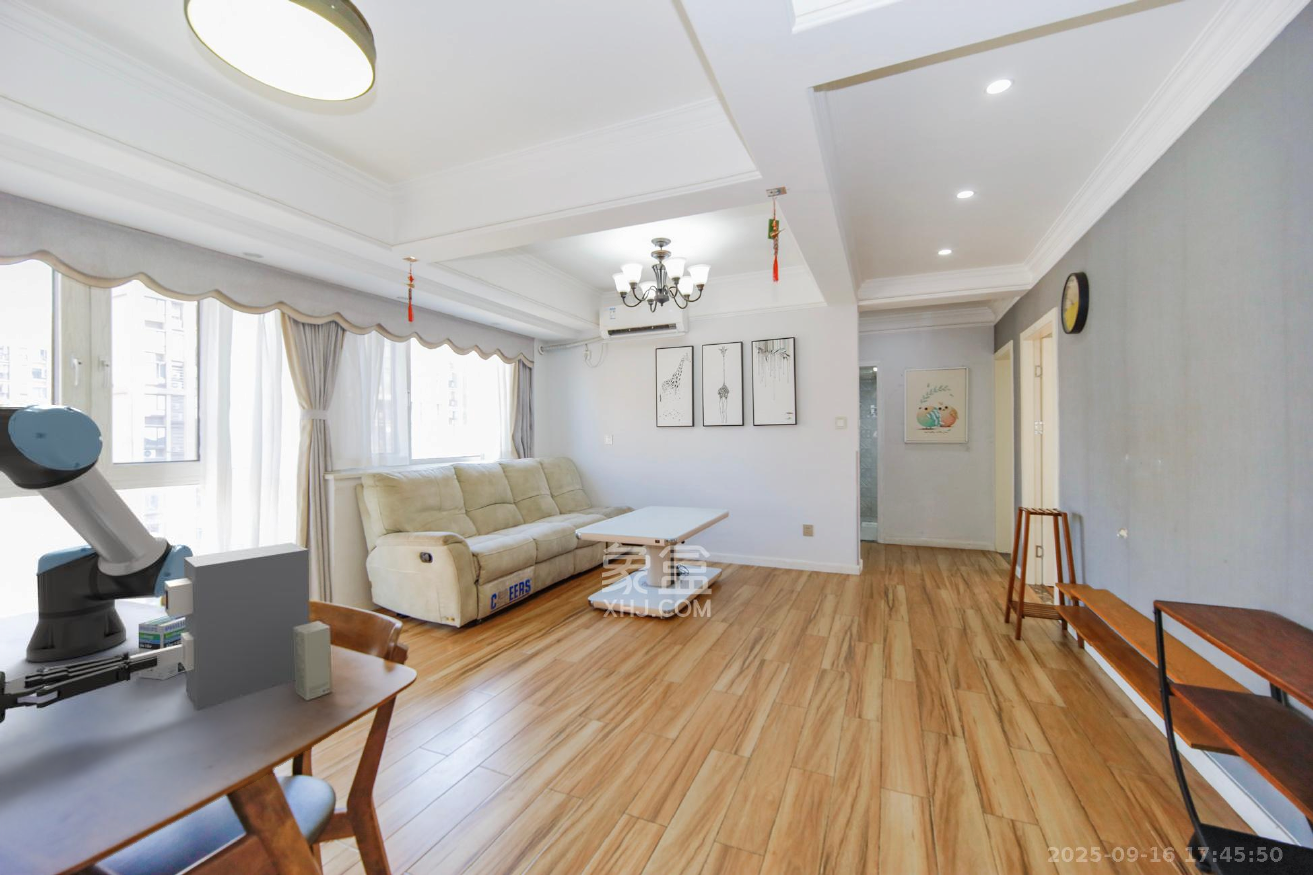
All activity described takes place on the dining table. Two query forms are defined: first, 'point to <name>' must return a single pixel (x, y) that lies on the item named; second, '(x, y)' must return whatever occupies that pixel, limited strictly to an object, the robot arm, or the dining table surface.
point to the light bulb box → (161, 643)
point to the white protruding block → (179, 597)
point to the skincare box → (312, 659)
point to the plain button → (188, 651)
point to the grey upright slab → (245, 620)
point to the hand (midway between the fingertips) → (181, 652)
